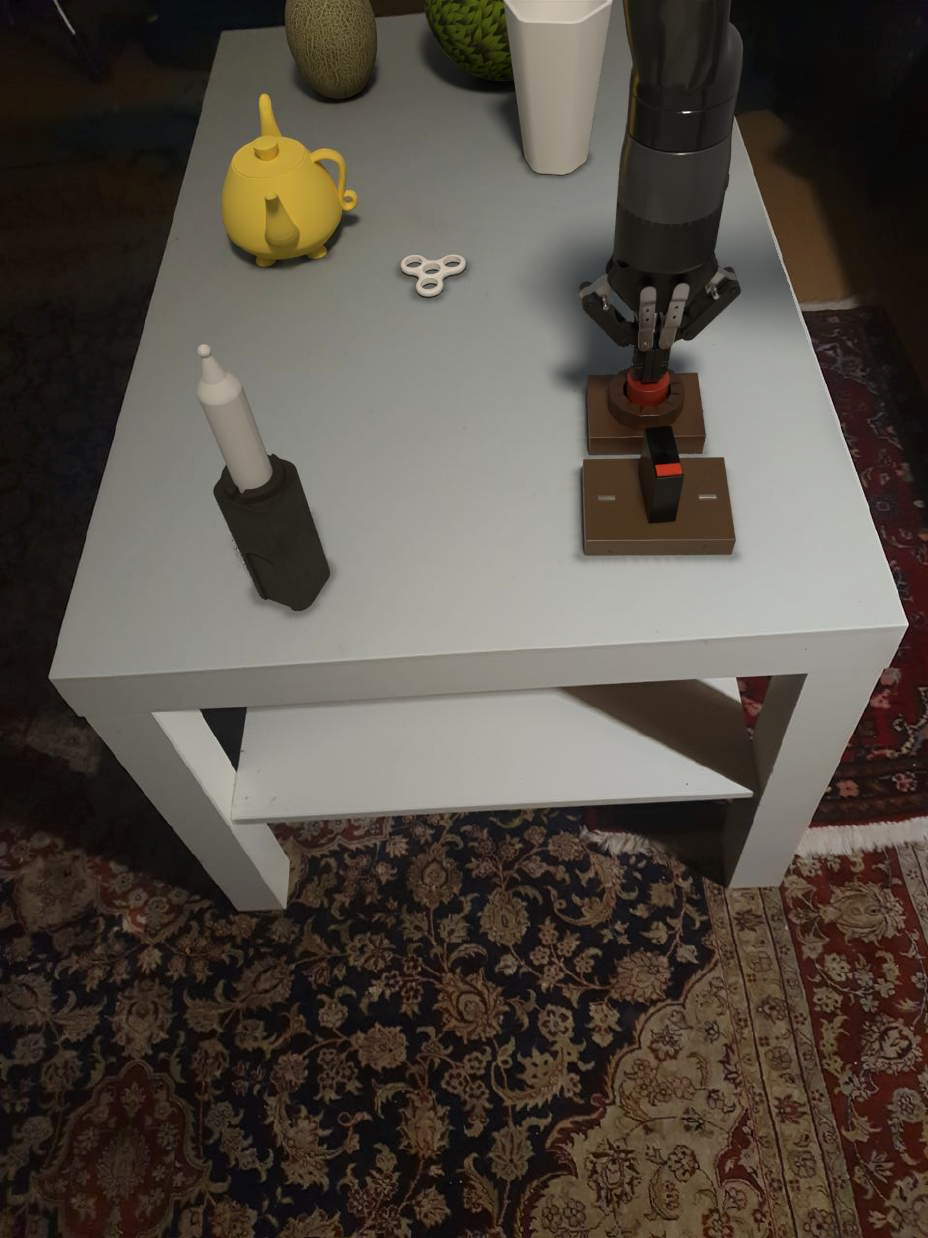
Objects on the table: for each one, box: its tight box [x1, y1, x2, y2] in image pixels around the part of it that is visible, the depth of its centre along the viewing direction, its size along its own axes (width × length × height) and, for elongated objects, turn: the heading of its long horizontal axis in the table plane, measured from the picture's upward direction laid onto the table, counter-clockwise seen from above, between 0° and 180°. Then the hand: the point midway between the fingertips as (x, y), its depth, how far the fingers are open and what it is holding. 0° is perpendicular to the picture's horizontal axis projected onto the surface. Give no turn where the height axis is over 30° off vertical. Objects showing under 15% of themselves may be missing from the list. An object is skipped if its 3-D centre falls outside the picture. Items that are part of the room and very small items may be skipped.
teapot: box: [221, 93, 359, 268], centre depth 98 cm, size 20×15×12 cm
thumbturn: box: [639, 426, 684, 524], centre depth 74 cm, size 6×2×6 cm, turn 3°
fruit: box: [284, 0, 378, 99], centre depth 114 cm, size 11×11×15 cm
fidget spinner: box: [400, 254, 467, 298], centre depth 97 cm, size 7×6×1 cm
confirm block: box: [586, 364, 707, 456], centre depth 83 cm, size 10×8×4 cm
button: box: [626, 368, 670, 406], centre depth 80 cm, size 4×4×2 cm
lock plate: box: [581, 456, 737, 556], centre depth 77 cm, size 12×9×2 cm
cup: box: [503, 0, 614, 176], centre depth 101 cm, size 11×10×17 cm
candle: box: [196, 343, 331, 612], centre depth 67 cm, size 5×5×25 cm
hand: (648, 375), depth 79 cm, fingers closed
